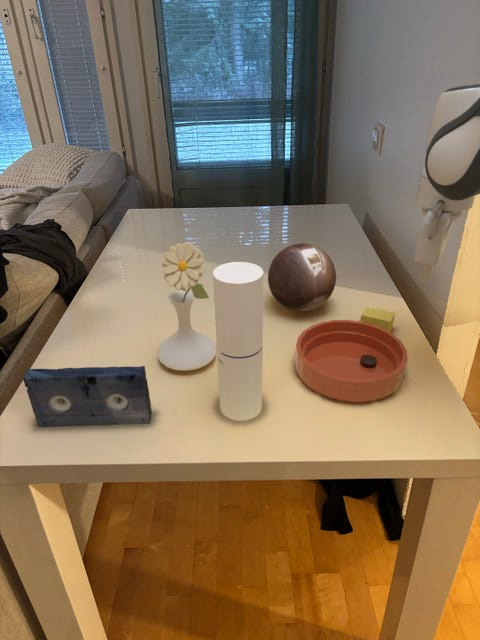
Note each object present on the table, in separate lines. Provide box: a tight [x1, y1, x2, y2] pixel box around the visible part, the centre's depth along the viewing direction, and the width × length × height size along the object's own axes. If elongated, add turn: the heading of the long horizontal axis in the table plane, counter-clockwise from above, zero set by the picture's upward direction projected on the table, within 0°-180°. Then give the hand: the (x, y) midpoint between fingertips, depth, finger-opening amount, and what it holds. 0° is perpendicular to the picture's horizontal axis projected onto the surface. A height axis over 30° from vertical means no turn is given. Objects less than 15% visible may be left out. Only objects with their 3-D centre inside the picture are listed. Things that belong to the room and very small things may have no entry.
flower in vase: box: [157, 241, 217, 372], centre depth 84 cm, size 13×11×25 cm
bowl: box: [294, 319, 409, 403], centre depth 86 cm, size 20×20×5 cm
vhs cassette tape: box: [22, 365, 153, 428], centre depth 74 cm, size 18×3×10 cm, turn 90°
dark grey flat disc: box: [360, 355, 377, 368], centre depth 87 cm, size 3×3×1 cm
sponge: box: [360, 306, 396, 333], centre depth 97 cm, size 6×4×4 cm, turn 62°
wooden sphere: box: [267, 243, 337, 312], centre depth 104 cm, size 15×15×15 cm
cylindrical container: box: [212, 261, 264, 422], centre depth 72 cm, size 7×7×25 cm
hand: (429, 270), depth 84 cm, fingers open, 8 cm apart
